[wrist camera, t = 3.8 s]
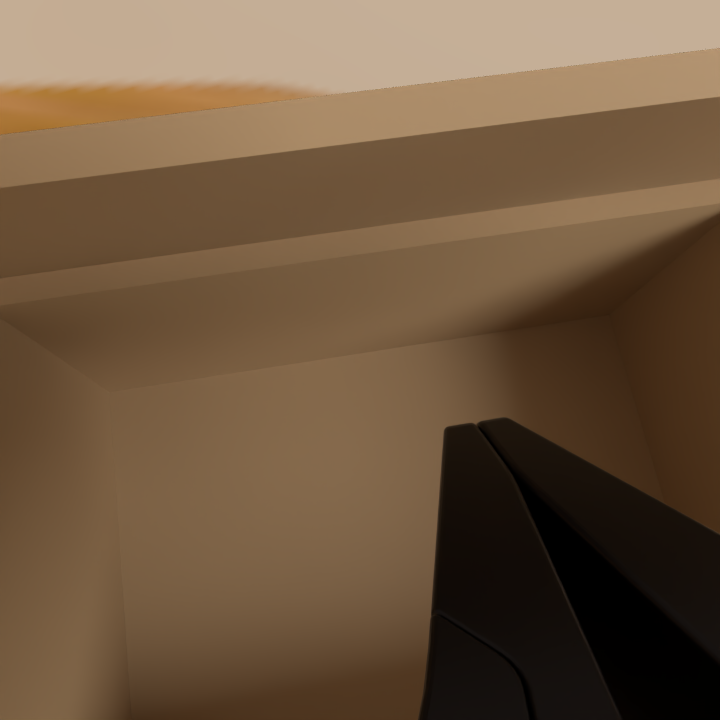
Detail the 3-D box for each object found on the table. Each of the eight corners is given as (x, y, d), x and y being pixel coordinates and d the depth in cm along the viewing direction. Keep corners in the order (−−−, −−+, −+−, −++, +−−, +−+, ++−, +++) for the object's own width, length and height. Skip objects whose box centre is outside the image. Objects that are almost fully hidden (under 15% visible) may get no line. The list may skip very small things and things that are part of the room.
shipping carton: (779, 762, 18) (1100, 918, 11) (96, 912, 17) (-105, 1223, 9) (634, 293, 22) (791, 160, 15) (69, 379, 21) (-87, 281, 13)
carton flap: (774, 171, 14) (1211, 33, 7) (-55, 286, 13) (-464, 246, 6) (771, 148, 14) (1209, -11, 7) (-61, 260, 13) (-478, 192, 6)
